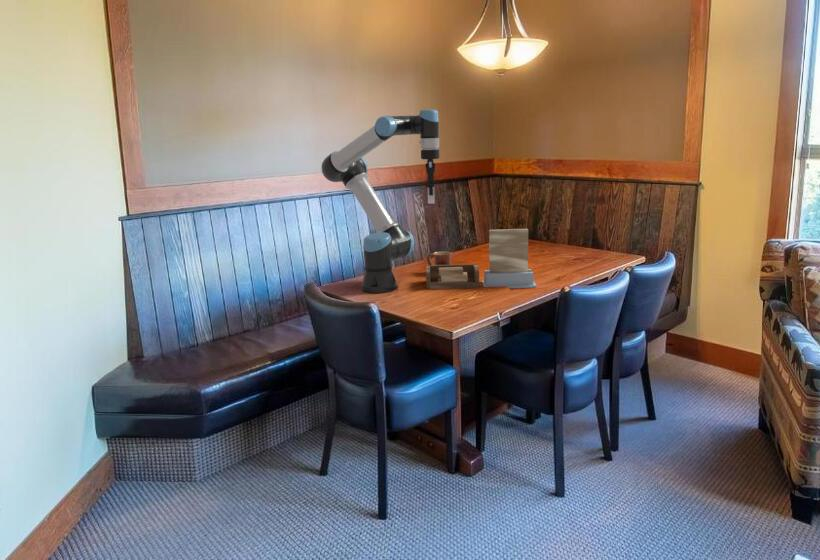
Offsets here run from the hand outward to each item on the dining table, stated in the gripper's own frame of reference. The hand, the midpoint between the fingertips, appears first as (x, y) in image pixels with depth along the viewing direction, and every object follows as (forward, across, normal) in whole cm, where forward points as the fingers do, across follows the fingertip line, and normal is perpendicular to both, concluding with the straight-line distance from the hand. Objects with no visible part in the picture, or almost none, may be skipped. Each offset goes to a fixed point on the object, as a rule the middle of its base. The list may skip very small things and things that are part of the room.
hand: (431, 201), depth 254 cm
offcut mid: (+33, +2, +9) cm, 34 cm away
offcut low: (+36, +2, +8) cm, 37 cm away
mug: (+37, -22, +3) cm, 43 cm away
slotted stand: (+37, 0, +32) cm, 49 cm away
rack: (+37, 0, +8) cm, 38 cm away
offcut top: (+31, +2, +8) cm, 32 cm away
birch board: (+36, 0, +32) cm, 48 cm away
